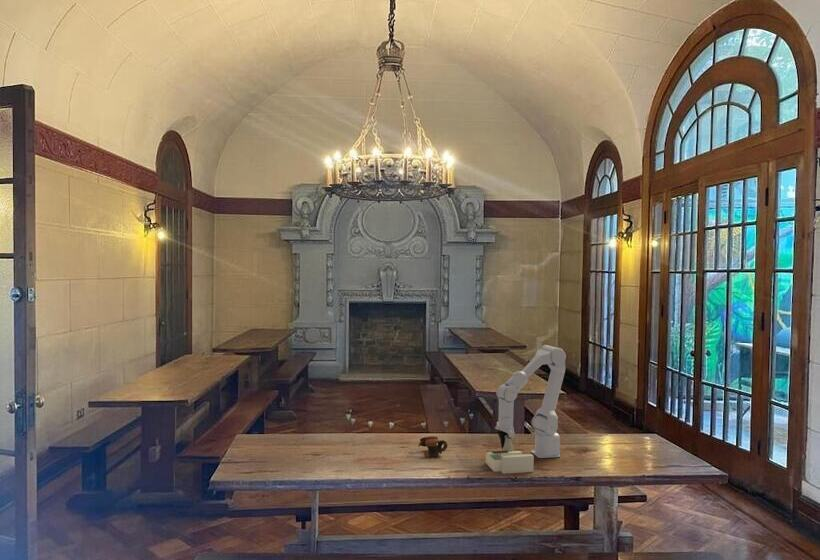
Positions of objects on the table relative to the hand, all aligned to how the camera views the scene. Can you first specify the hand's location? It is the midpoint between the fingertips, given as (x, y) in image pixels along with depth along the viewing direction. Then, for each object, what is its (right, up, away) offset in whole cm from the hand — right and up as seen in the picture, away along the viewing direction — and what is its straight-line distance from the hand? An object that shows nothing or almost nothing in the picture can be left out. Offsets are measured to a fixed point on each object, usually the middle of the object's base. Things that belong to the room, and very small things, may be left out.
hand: (504, 450), depth 228 cm
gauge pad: (0, -4, -6) cm, 8 cm away
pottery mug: (-28, -4, +6) cm, 29 cm away
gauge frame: (0, -4, -8) cm, 9 cm away
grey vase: (+1, -4, -2) cm, 4 cm away
